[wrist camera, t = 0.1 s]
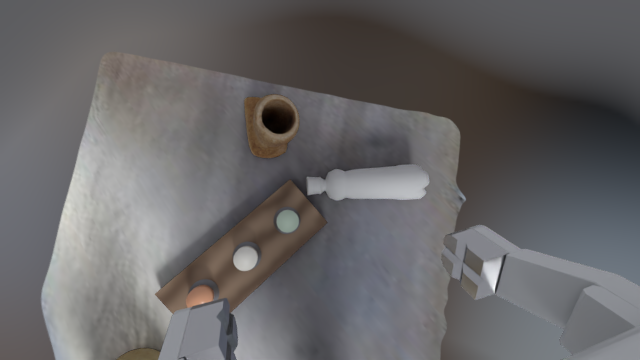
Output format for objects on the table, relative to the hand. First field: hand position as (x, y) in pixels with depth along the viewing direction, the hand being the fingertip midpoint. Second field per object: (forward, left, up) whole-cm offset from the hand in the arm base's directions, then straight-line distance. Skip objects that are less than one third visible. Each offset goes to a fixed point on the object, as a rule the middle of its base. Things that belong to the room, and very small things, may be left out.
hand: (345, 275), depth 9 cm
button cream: (-1, +13, -50) cm, 51 cm away
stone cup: (+19, -11, -55) cm, 59 cm away
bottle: (-7, -20, -55) cm, 59 cm away
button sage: (-1, +1, -50) cm, 50 cm away
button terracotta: (-1, +25, -50) cm, 56 cm away
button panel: (-1, +13, -54) cm, 56 cm away
